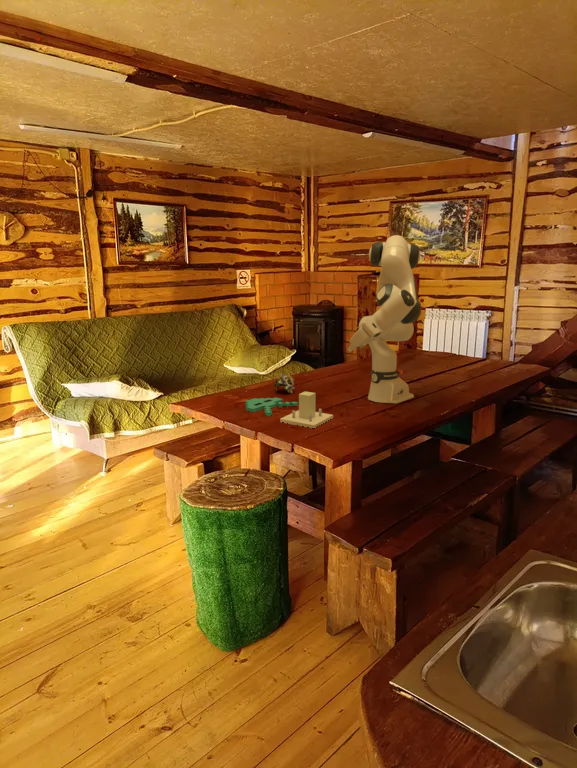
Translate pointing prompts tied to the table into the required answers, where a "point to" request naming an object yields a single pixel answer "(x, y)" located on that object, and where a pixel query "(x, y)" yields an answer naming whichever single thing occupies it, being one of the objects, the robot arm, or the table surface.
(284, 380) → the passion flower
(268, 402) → the alien figure
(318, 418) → the pin plate
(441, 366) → the table surface
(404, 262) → the robot arm
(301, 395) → the beige rectangular block
